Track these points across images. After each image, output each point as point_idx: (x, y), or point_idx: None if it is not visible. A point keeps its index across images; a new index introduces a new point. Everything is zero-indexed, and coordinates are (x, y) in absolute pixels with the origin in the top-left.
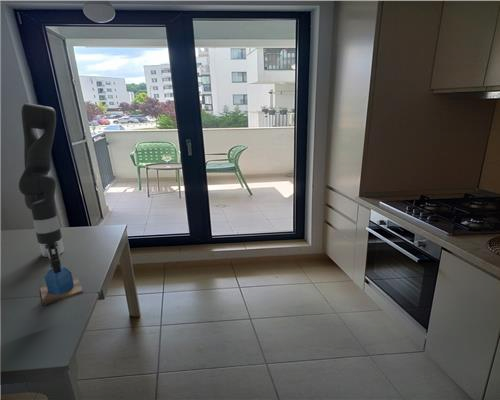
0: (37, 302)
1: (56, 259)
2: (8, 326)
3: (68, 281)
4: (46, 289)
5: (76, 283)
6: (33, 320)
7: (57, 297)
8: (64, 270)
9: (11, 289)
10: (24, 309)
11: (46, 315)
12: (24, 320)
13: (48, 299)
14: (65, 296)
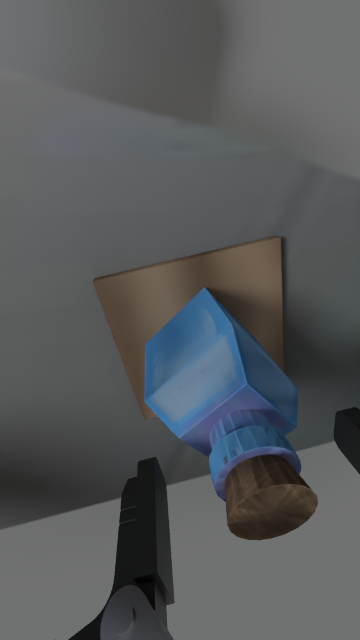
0: None
1: (159, 502)
2: None
3: (235, 321)
4: None
5: (182, 277)
6: (353, 386)
7: (272, 343)
8: (257, 377)
9: (101, 489)
10: None
11: (354, 356)
12: (333, 408)
13: None
14: (281, 313)
